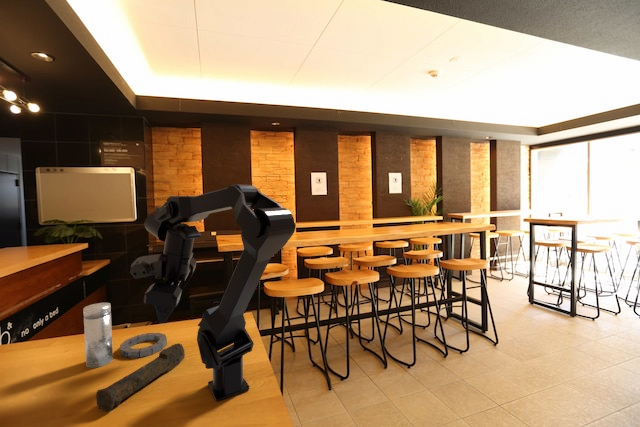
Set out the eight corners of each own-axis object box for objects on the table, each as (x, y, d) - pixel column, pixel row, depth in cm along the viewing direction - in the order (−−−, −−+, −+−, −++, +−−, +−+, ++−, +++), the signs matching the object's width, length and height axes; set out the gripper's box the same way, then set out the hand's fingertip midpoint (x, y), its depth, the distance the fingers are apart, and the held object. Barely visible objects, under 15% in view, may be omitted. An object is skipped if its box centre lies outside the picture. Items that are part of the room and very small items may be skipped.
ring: (169, 350, 76) (168, 344, 76) (120, 362, 70) (120, 356, 70) (163, 334, 84) (163, 329, 84) (120, 344, 79) (119, 339, 78)
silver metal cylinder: (112, 363, 70) (110, 307, 69) (85, 370, 67) (82, 312, 66) (112, 354, 74) (110, 301, 73) (86, 360, 71) (84, 305, 70)
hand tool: (109, 416, 54) (108, 390, 53) (94, 409, 55) (93, 384, 55) (193, 362, 71) (192, 342, 71) (180, 358, 72) (179, 339, 72)
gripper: (154, 229, 76) (146, 285, 79) (119, 261, 58) (110, 332, 61) (201, 237, 78) (191, 292, 82) (181, 271, 60) (169, 338, 64)
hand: (168, 310), depth 72 cm, fingers open, 9 cm apart
